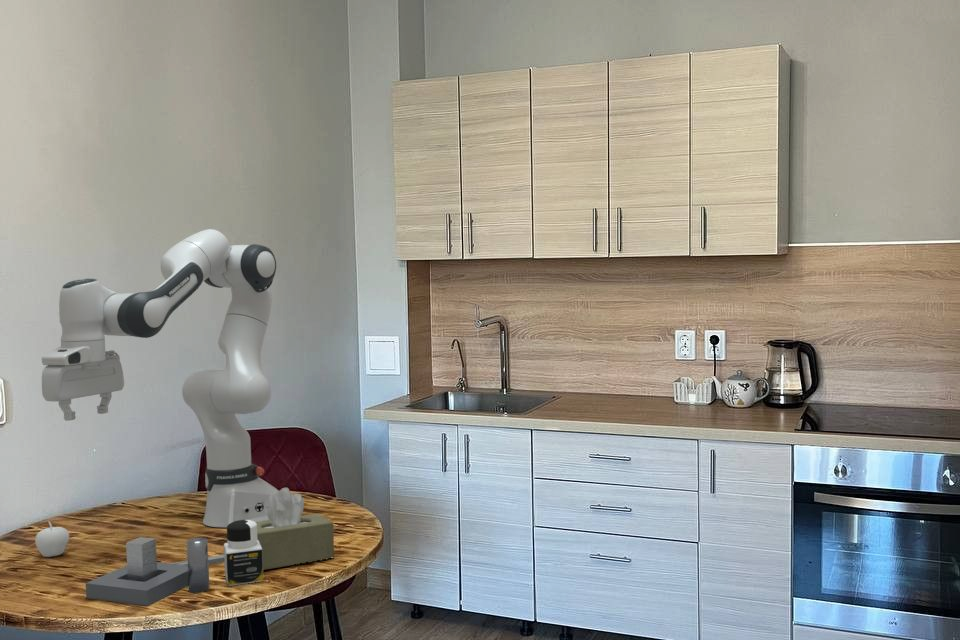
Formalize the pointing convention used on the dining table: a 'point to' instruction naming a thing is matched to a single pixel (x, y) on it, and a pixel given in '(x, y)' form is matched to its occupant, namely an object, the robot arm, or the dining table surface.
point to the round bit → (198, 565)
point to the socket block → (138, 585)
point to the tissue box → (293, 532)
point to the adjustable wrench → (210, 559)
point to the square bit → (141, 559)
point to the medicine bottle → (243, 554)
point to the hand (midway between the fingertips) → (86, 416)
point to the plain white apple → (52, 541)
